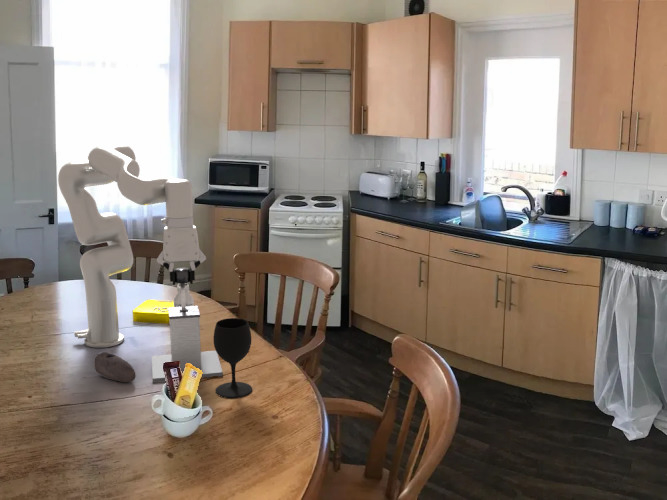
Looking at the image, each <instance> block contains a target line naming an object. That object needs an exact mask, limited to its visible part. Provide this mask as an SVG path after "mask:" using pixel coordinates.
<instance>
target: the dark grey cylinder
mask: <svg viewBox="0 0 667 500" xmlns="http://www.w3.org/2000/svg"><path fill="white" fill-rule="evenodd" d="M174 271H175V284H181V305H182V312H186V302H185V284H188V283H190V267H178V268H177V267H176V268H174Z"/></svg>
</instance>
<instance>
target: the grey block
mask: <svg viewBox="0 0 667 500" xmlns="http://www.w3.org/2000/svg"><path fill="white" fill-rule="evenodd" d="M168 312H169V321H170V324H169V335H170V337H169V338H170V339H169V340H170V354H171V361H172V362H173V361H180V368H181V370H183V369H184V368H185V364H186V363H191V364H192V365H193V366H195V367H196V368H201V352H202V351H201V326H200V318H201V314H200V313H201V312H200V309H199V305H193V306H186V312H182V307H170V308H168Z"/></svg>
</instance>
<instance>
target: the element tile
mask: <svg viewBox="0 0 667 500" xmlns="http://www.w3.org/2000/svg"><path fill="white" fill-rule="evenodd" d="M170 307H174V304H173V300H167V299H166V300H163V299H147V300H145V301H143V302H142V303H140V304H139V305H138V306H136V307H135V308H134V309H132V321H133V322H134V323H143V324H158V325H159V324H160V325H165V324H166V325H168V324H169V325H170V321H169V312H168V308H170Z"/></svg>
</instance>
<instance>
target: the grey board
mask: <svg viewBox="0 0 667 500" xmlns="http://www.w3.org/2000/svg"><path fill="white" fill-rule="evenodd" d="M165 362H171V353H170V354H159V355H151V368H152V383H162V382H163V383H164V382H166V381H165V375H164V372H163V363H165ZM199 369H200V370H202V372H203V374H202V377H207V378H212V377H211V376H218V377H223V369H222V366H221V362H220V358H219V355H218V354H217V352H216V350H208V351H205V350H204V351H201V368H199ZM181 371H182V373H183V371H184V369H183V370H181Z"/></svg>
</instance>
